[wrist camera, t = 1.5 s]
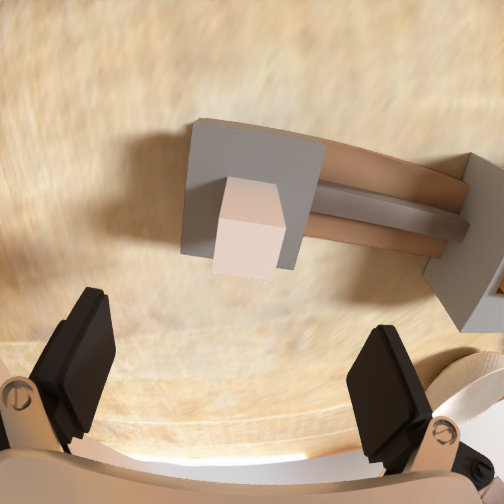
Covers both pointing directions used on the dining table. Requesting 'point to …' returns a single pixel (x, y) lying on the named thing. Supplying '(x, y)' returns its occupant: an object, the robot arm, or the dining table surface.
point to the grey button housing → (475, 255)
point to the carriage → (248, 196)
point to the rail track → (389, 183)
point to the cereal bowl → (467, 387)
